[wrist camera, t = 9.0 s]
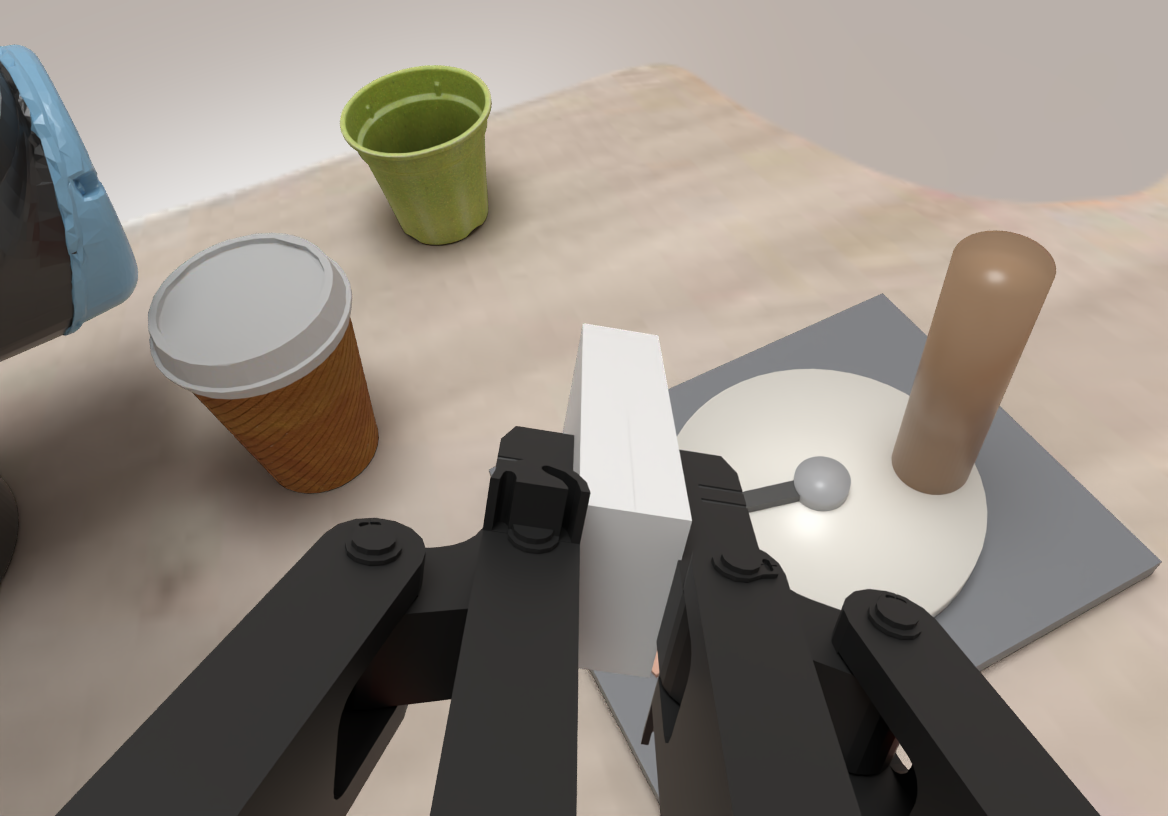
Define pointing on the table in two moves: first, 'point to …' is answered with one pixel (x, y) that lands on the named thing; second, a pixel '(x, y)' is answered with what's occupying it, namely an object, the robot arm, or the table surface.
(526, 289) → the table surface
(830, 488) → the post on round base
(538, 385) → the table surface
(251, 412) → the disposable coffee cup
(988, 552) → the dial plate
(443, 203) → the plant pot
